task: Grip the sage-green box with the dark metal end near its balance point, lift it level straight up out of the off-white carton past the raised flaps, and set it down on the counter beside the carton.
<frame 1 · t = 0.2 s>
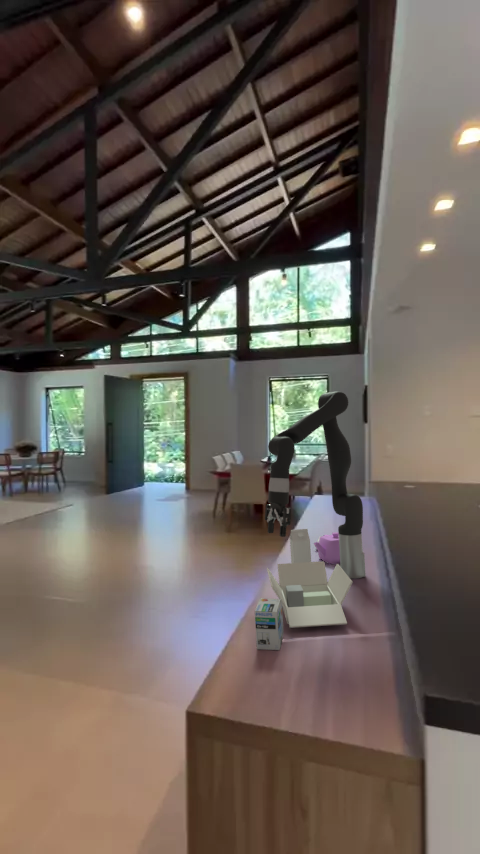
hand: (276, 534, 172), 22 cm above the counter, tool pointing down, fingers open, 8 cm apart
carton: (309, 611, 155), on the counter
salad plate: (338, 547, 239), on the counter
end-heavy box: (309, 609, 155), point 1 cm above the counter, touching carton
light bulb box: (270, 642, 135), on the counter
teakettle: (336, 560, 214), on the counter
milk carton: (301, 575, 195), on the counter
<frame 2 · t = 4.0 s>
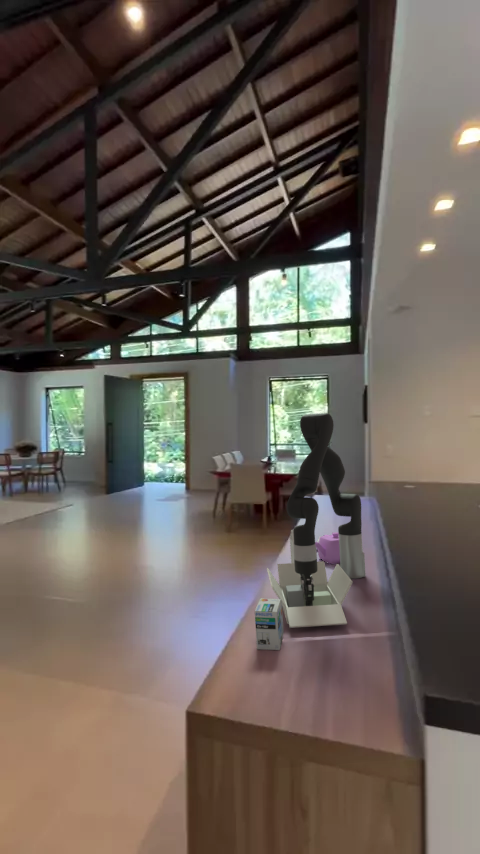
hand: (308, 608, 155), 1 cm above the counter, tool pointing down, fingers closed on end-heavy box, 4 cm apart
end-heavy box: (309, 609, 155), point 1 cm above the counter, touching carton, gripper
everything else where it was.
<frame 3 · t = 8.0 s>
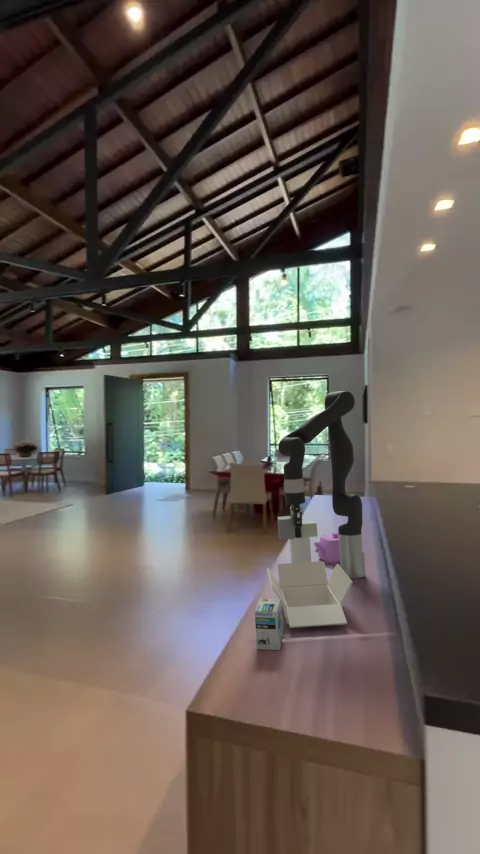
hand: (297, 535, 175), 21 cm above the counter, tool pointing down, fingers closed on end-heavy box, 4 cm apart
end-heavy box: (298, 536, 175), point 21 cm above the counter, touching gripper
everything else where it was.
when the fingers open (2 cm above the counter, at t = 12.3 s): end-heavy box drops 1 cm, on the counter.
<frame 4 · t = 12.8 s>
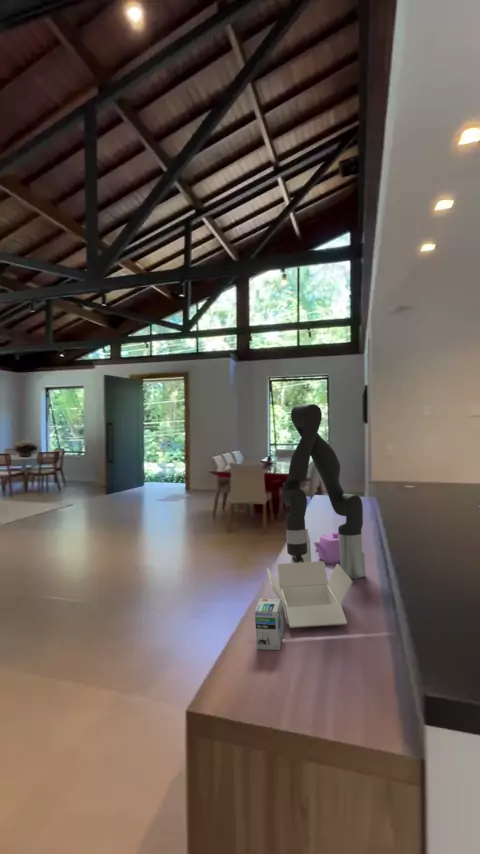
hand: (299, 583, 176), 3 cm above the counter, tool pointing down, fingers open, 8 cm apart
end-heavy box: (300, 590, 176), on the counter
everything else where it was.
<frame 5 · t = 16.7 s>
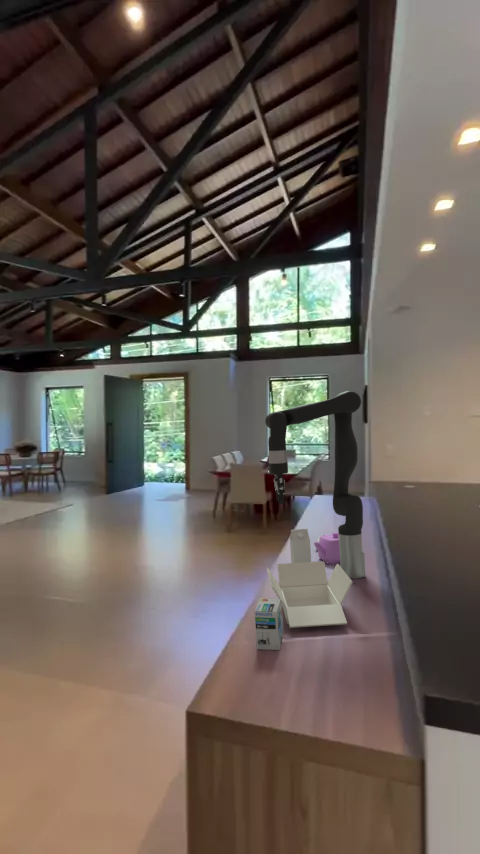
hand: (280, 502, 186), 32 cm above the counter, tool pointing down, fingers open, 8 cm apart
nothing on the counter moved.
at the end: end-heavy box inside the target area (0.0 cm from its centre), on the counter; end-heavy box tilted 0°; the gripper is holding nothing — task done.
